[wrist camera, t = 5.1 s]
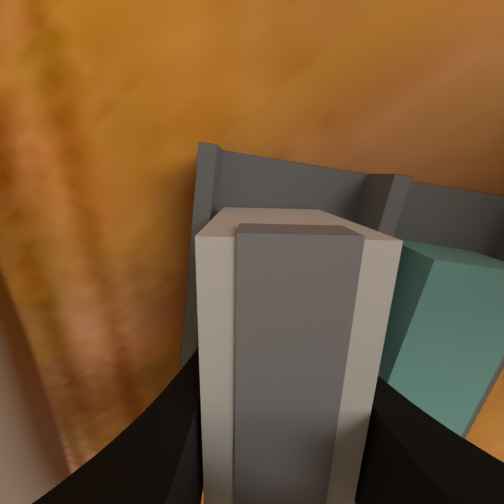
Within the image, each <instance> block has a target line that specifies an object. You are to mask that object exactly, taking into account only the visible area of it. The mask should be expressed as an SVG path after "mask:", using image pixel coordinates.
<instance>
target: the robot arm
mask: <svg viewBox="0 0 504 504" xmlns="http://www.w3.org/2000/svg"><path fill="white" fill-rule="evenodd" d="M203 485H204V484H203V456H202V427H201V399H200V371H199V346H198V347H197V349H196V350H195V352H194V353H193V354H192V356H191V357H190V359H189V360H188V361H187V363H186V364H185V365H184V366H183V368H182V369H181V370H180V371H179V373H178V374H177V375H176V377H175V378H174V379H173V380H172V381H171V382H170V384H169V385H168V386H167V387H166V388H165V389H164V390H163V392H162V393H161V394H160V395H159V396H158V397H157V398H156V399H155V400H154V402H153V403H152V404H151V405H150V406H149V407H148V408H147V409H146V410H145V411H144V412H143V413H142V414H141V415H140V416H139V417H138V418H137V419H136V420H135V421H134V422H133V423H132V424H130V425H129V426H128V427H127V428H126V429H125V430H124V431H123V432H122V433H121V434H119V435H118V436H117V437H116V438H115V439H114V440H113V441H112V442H111V443H109V444H108V445H107V446H106V447H105V448H104V449H102V450H101V451H100V452H99V453H98V454H96V455H95V456H94V457H93V458H91V459H90V460H89V461H88V462H86V463H85V464H84V465H83V466H81V467H80V468H79V469H78V470H76V471H75V472H74V473H72V474H71V475H70V476H69V477H67V478H66V479H65V480H64V481H62V482H61V483H60V484H59V485H57V486H56V487H54V488H53V489H52V490H50V491H49V492H48V493H46V494H45V495H44V496H42V497H41V498H40V499H38V500H37V501H35V502H34V503H32V504H201V497H202V491H203ZM354 501H355V504H504V463H503V462H502V461H500V460H498V459H496V458H495V457H493V456H491V455H490V454H488V453H487V452H485V451H483V450H482V449H480V448H478V447H477V446H475V445H474V444H472V443H470V442H469V441H467V440H466V439H464V438H462V437H461V436H459V435H458V434H456V433H455V432H453V431H452V430H450V429H449V428H447V427H446V426H444V425H443V424H441V423H440V422H439V421H437V420H436V419H434V418H433V417H431V416H430V415H429V414H427V413H426V412H424V411H423V410H421V409H420V408H419V407H417V406H416V405H415V404H413V403H412V402H411V401H409V400H408V399H407V398H406V397H404V396H403V395H402V394H400V393H399V392H398V391H397V390H395V389H394V388H393V387H392V386H390V385H389V384H388V383H387V382H386V381H384V380H383V379H382V378H381V377H380V376H378V377H377V383H376V388H375V393H374V399H373V404H372V409H371V415H370V420H369V425H368V431H367V436H366V441H365V447H364V452H363V457H362V463H361V468H360V473H359V479H358V484H357V489H356V495H355V500H354Z"/></svg>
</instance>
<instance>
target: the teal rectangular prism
mask: <svg viewBox="0 0 504 504" xmlns="http://www.w3.org/2000/svg"><path fill="white" fill-rule="evenodd" d="M402 241H403V244H402V249H401V255H400V260H399V265H398V271H397V276H396V281H395V287H394V292H393V297H392V303H391V308H390V313H389V319H388V324H387V329H386V335H385V340H384V345H383V351H382V356H381V361H380V367H379V372H378V376H380V377H381V378H382V379H383V380H384V381H386V382H387V383H388V384H389V385H390V386H392V387H393V388H394V389H395V390H397V391H398V392H399V393H400V394H402V395H403V396H404V397H406V398H407V399H408V400H409V401H411V402H412V403H413V404H415V405H416V406H417V407H419V408H420V409H421V410H423V411H424V412H426V413H427V414H429V415H430V416H431V417H433V418H434V419H436V420H437V421H439V422H440V423H441V424H443V425H444V426H446V427H447V428H449V429H450V430H452V431H453V432H455V433H456V434H458V435H459V436H462V434H463V432H464V430H465V428H466V426H467V424H468V422H469V421H470V419H471V417H472V415H473V413H474V411H475V409H476V407H477V405H478V404H479V402H480V400H481V398H482V396H483V394H484V392H485V390H486V388H487V387H488V385H489V383H490V381H491V379H492V377H493V375H494V373H495V371H496V370H497V368H498V366H499V364H500V362H501V360H502V358H503V356H504V261H501V260H498V259H495V258H492V257H489V256H486V255H483V254H480V253H477V252H474V251H471V250H464V249H458V248H451V247H444V246H438V245H431V244H424V243H417V242H411V241H404V240H402Z"/></svg>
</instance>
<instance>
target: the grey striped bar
mask: <svg viewBox="0 0 504 504" xmlns="http://www.w3.org/2000/svg"><path fill="white" fill-rule="evenodd" d="M402 244H403V241H402V240H400V239H397V238H394V237H392V236H389V235H386V234H383V233H381V232H378V231H375V230H373V229H370V228H367V227H365V226H362V225H359V224H357V223H354V222H351V221H348V220H346V219H343V218H340V217H338V216H335V215H332V214H330V213H327V212H324V211H322V210H319V209H279V208H237V207H224V208H223V209H222V210H221V211H220V212H219V213H218V214H217V215H216V216H215V217H214V218H213V219H212V220H211V221H210V222H209V223H208V224H207V225H206V226H205V227H204V228H203V229H202V230H201V231H200V232H199V233H198V234H197V235H196V236H195V257H196V286H197V314H198V342H199V371H200V399H201V427H202V456H203V484H204V504H354V500H355V495H356V489H357V484H358V479H359V473H360V468H361V463H362V457H363V452H364V447H365V441H366V436H367V431H368V425H369V420H370V415H371V409H372V404H373V399H374V393H375V388H376V383H377V377H378V372H379V367H380V361H381V356H382V351H383V345H384V340H385V335H386V329H387V324H388V319H389V313H390V308H391V303H392V297H393V292H394V287H395V281H396V276H397V271H398V265H399V260H400V255H401V249H402Z"/></svg>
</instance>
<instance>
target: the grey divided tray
mask: <svg viewBox="0 0 504 504" xmlns="http://www.w3.org/2000/svg"><path fill="white" fill-rule="evenodd" d="M411 179H412V177H411V176H405V175H398V174H365V173H358V172H352V171H346V170H340V169H334V168H328V167H322V166H316V165H309V164H303V163H297V162H291V161H285V160H279V159H273V158H267V157H261V156H254V155H248V154H242V153H236V152H230V151H224V150H222V149H221V148H220V147H219V146H218V145H216V144H210V143H204V142H199V145H198V157H197V169H196V181H195V193H194V205H193V217H192V229H191V241H190V253H189V265H188V277H187V290H186V302H185V314H184V326H183V338H182V350H181V362H180V370H181V369H182V368H183V366H184V365H185V364H186V363H187V361H188V360H189V359H190V357H191V356H192V354H193V353H194V352H195V350H196V349H197V347H198V346H199V342H198V314H197V286H196V257H195V236H196V235H197V234H198V233H199V232H200V231H201V230H202V229H203V228H204V227H205V226H206V225H207V224H208V223H209V222H210V221H211V220H212V219H213V218H214V217H215V216H216V215H217V214H218V213H219V212H220V211H221V210H222V209H223V208H224V207H237V208H279V209H319V210H322V211H324V212H327V213H330V214H332V215H335V216H338V217H340V218H343V219H346V220H348V221H351V222H354V223H357V224H359V225H362V226H365V227H367V228H370V229H373V230H375V231H378V232H381V233H383V234H386V235H389V236H392V237H394V238H397V239H400V240H404V241H411V242H417V243H424V244H431V245H438V246H444V247H451V248H458V249H464V250H471V251H474V252H477V253H480V254H483V255H486V256H489V257H492V258H495V259H498V260H501V261H504V196H499V195H493V194H487V193H481V192H475V191H469V190H463V189H456V188H450V187H444V186H438V185H432V184H426V183H420V182H414V181H411ZM503 367H504V356H503V358H502V360H501V362H500V364H499V366H498V368H497V370H496V371H495V373H494V375H493V377H492V379H491V381H490V383H489V385H488V387H487V388H486V390H485V392H484V394H483V396H482V398H481V400H480V402H479V404H478V405H477V407H476V409H475V411H474V413H473V415H472V417H471V419H470V421H469V422H468V424H467V426H466V428H465V430H464V432H463V434H462V436H461V437H462V438H464V439H465V438H466V436H467V434H468V432H469V430H470V429H471V427H472V425H473V423H474V421H475V419H476V417H477V416H478V414H479V412H480V410H481V408H482V406H483V404H484V403H485V401H486V399H487V397H488V395H489V393H490V391H491V390H492V388H493V386H494V384H495V382H496V380H497V378H498V377H499V375H500V373H501V371H502V369H503ZM202 492H204V485H203V491H202ZM354 504H355V501H354Z"/></svg>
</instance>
